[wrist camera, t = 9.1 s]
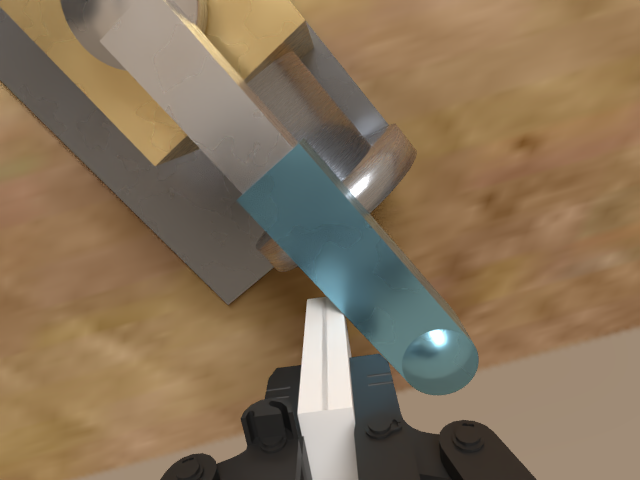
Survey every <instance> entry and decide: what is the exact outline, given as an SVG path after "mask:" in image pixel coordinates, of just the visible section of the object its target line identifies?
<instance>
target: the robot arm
mask: <svg viewBox="0 0 640 480" xmlns="http://www.w3.org/2000/svg"><path fill="white" fill-rule="evenodd" d="M241 422H242V426H243V430H244V434H245V438H246V442H247V449H246V450H245V451H244V452H243V453H241V454H239V455H237V456H235V457H233V458H231V459H228V460H226V461H223V462H221V463H218V464H216V461H215V460H214V459H213V458H212V457H211V456H210V455H206V454H203V453H202V454H192V455H189V456H187V457H184V458H182V459H180V460H179V461H177V462H176V463H174V464H173V465H172V466H171V467H170V468H169V469H168V470H167V471H166V473H165V474H164V475H163V477H162V478H161V479H160V480H536V478H535V477H534V476H533V475H532V474H531V473H530V472H529V471H528V470H527V468H526V467H525V466H524V465H523V464H522V463H521V462H520V461H519V460H518V459H517V457H516V456H515V455H514V454H513V453H512V452H511V451H510V450H509V448H508V447H507V446H506V445H505V444H504V443H503V442H502V441H501V440H500V439H499V437H498V436H497V435H496V434H495V433H494V432H493V431H492V430H491V429H489V428H488V427H487V426H485V425H483V424H481V423H478V422H475V421H468V420H461V421H455V422H452V423H450V424H448V425H446V426H445V427H444V428H443V429H442V430H441V432H440V435H439V434H431V433H426V432H421V431H418V430H416V429H414V428H412V427H411V426H409V425H408V424H407V423H406V422H405V421H404V420H403V418H402V415H401V412H400V408H399V404H398V400H397V396H396V392H395V388H394V384H393V380H392V376H391V372H390V367H389V363H388V361H387V360H386V359H384V358H383V357H382V356H381V355H380V354H374V355H366V356H359V357H351V350H350V343H349V337H348V330H347V324H346V317H345V315H344V314H343V313H342V312H341V311H340V310H339V309H338V308H337V306H336V305H335V304H334V303H333V302H332V301H331V300H330V299H329V298H328V297H320V298H312V299H307V308H306V320H305V331H304V343H303V354H302V365H298V366H290V367H283V368H277V369H276V370H275V371H274V373H273V374H272V375H271V376H270V378H269V380H268V385H267V391H266V395H265V399H264V400H260V401H258V402H256V403H255V404H253V405H251V406H250V407H249V408H248V409H247V410H245V411H244V413H243V415H242V417H241Z"/></svg>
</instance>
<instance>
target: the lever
mask: <svg viewBox="0 0 640 480" xmlns="http://www.w3.org/2000/svg"><path fill="white" fill-rule="evenodd" d="M60 2H61V7H62V10H63V14H64V16H65V19H66V21H67V24H68V25H69V27H70V29H71V31H72V33H73V34H74V36H75V37H76V39H77V40H78V41H79V42H80V44H81V45H82V46H83V47H84V48H85V49H86V50H87V51H88V52H89V53H90V54H91V55H93V56H94V57H95V58H97V59H98V60H100V61H101V62H103V63H105V64H107V65H109V66H111V67H114V68H117V69H121V70H125V71H128V72H129V73H130V74H131V75H132V76H133V78H134V79H135V80H136V81H137V82H138V83H139V84H140V85H141V86H142V87H143V88H144V89H145V90H146V91H147V93H148V94H149V95H150V96H151V97H152V98H153V99H154V100H155V101H156V102H157V103H158V104H159V105H160V106H161V107H162V109H163V110H164V111H165V112H166V113H167V114H168V115H169V116H170V117H171V118H172V119H173V120H174V121H175V122H176V123H177V125H178V126H179V127H180V128H181V129H182V130H183V131H184V132H185V133H186V134H187V135H188V136H189V137H190V138H191V140H192V141H193V142H194V143H195V144H196V145H197V146H198V147H199V148H200V149H201V150H202V151H203V152H204V153H205V154H206V156H207V157H208V158H209V159H210V160H211V161H212V162H213V163H214V164H215V165H216V166H217V167H218V168H219V169H220V170H221V172H222V173H223V174H224V175H225V176H226V177H227V178H228V179H229V180H230V181H231V182H232V183H233V184H234V185H235V187H236V188H237V189H238V190H239V191H240V192H241V193H242V195H241V196H240V197H239V198H238V199H237V200H236V201H237V202H238V203H239V204H240V205H241V206H242V207H243V208H244V209H245V210H246V211H247V212H248V213H249V214H250V215H251V216H252V217H253V219H254V220H255V221H256V222H257V223H258V224H259V225H260V226H261V227H262V228H263V229H264V230H265V231H266V232H267V233H268V234H269V235H270V237H271V238H272V239H273V240H274V241H275V242H276V243H277V244H278V245H279V246H280V247H281V248H282V249H283V250H284V251H285V252H286V253H287V255H288V256H289V257H290V258H291V259H292V260H293V261H294V262H295V263H296V264H297V265H298V266H299V267H300V268H301V269H302V270H303V272H304V273H305V274H306V275H307V276H308V277H309V278H310V279H311V280H312V281H313V282H314V283H315V284H316V285H317V286H318V287H319V288H320V290H321V291H322V292H323V293H324V294H325V295H326V296H327V297H328V298H329V299H330V300H331V301H332V302H333V303H334V304H335V305H336V306H337V308H338V309H339V310H340V311H341V312H342V313H343V314H344V315H345V316H346V317H347V318H348V319H349V320H350V321H351V322H352V323H353V324H354V326H355V327H356V328H357V329H358V330H359V331H360V332H361V333H362V334H363V335H364V336H365V337H366V338H367V339H368V340H369V341H370V342H371V344H372V345H373V346H374V347H375V348H376V349H377V350H378V351H379V352H380V353H381V354H382V355H383V356H384V357H385V358H386V359H387V360H388V362H389V363H390V364H391V365H392V366H393V367H394V368H395V369H396V370H397V371H398V372H399V373H400V374H401V375H402V376H403V377H404V378H405V380H406V381H407V382H408V383H409V384H410V385H411V386H412V387H414V388H415V389H416V390H418V391H420V392H423V393H425V394H430V395H446V394H450V393H453V392H456V391H458V390H460V389H462V388H463V387H464V386H466V385H467V384H468V383H469V382H470V381H471V380H472V378H473V377H474V375H475V373H476V371H477V368H478V362H479V359H478V353H477V350H476V348H475V346H474V344H473V342H472V341H471V339H470V337H469V335H468V334H467V332H466V330H465V328H464V327H463V325H462V323H461V322H460V320H459V318H458V316H457V315H456V313H455V312H454V311H453V310H452V308H451V307H450V306H449V305H448V304H447V303H446V301H445V300H444V299H443V298H442V297H441V296H440V295H439V293H438V292H437V291H436V290H435V289H434V288H433V286H432V285H431V284H430V283H429V282H428V281H427V279H426V278H425V277H424V276H423V275H422V274H421V273H420V271H419V270H418V269H417V268H416V267H415V266H414V264H413V263H412V262H411V261H410V260H409V259H408V257H407V256H406V255H405V254H404V253H403V252H402V251H401V249H400V248H399V247H398V246H397V245H396V244H395V242H394V241H393V240H392V239H391V238H390V237H389V236H388V234H387V233H386V232H385V231H384V230H383V229H382V227H381V226H380V225H379V224H378V223H377V222H376V220H375V219H374V218H373V217H372V216H371V215H370V214H369V212H368V211H367V210H366V209H365V208H364V207H363V205H362V204H361V203H360V202H359V201H358V200H357V198H356V197H355V196H354V195H353V194H352V193H351V192H350V190H349V189H348V188H347V187H346V186H345V185H344V183H343V182H342V181H341V180H340V179H339V178H338V177H337V175H336V174H335V173H334V172H333V171H332V170H331V168H330V167H329V166H328V165H327V164H326V163H325V161H324V160H323V159H322V158H321V157H320V156H319V155H318V153H317V152H316V151H315V150H314V149H313V148H312V146H311V145H310V144H309V143H308V142H307V141H306V139H305V138H304V137H303V138H302V139H301V140H300V141H299V142H297V141H296V139H295V138H294V137H293V136H292V135H291V134H290V133H289V131H288V130H287V129H286V128H285V127H284V126H283V125H282V123H281V122H280V121H279V120H278V119H277V118H276V116H275V115H274V114H273V113H272V112H271V111H270V110H269V108H268V107H267V106H266V105H265V104H264V103H263V102H262V100H261V99H260V98H259V97H258V96H257V95H256V93H255V92H254V91H253V90H252V89H251V88H250V87H249V85H248V84H247V83H246V82H245V81H244V80H243V79H242V77H241V76H240V75H239V74H238V73H237V72H236V71H235V69H234V68H233V67H232V66H231V65H230V64H229V62H228V61H227V60H226V59H225V58H224V57H223V56H222V54H221V53H220V52H219V51H218V50H217V49H216V48H215V46H214V45H213V44H212V43H211V42H210V41H209V40H208V38H207V37H206V36H205V35H204V33H205V30H206V25H207V14H208V10H207V0H60Z"/></svg>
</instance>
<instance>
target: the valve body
mask: <svg viewBox="0 0 640 480" xmlns="http://www.w3.org/2000/svg"><path fill="white" fill-rule="evenodd" d="M207 10H208V14H207V25H206V30H205V33H204V35H205V36H206V37H207V38H208V40H209V41H210V42H211V43H212V44H213V45H214V46H215V48H216V49H217V50H218V51H219V52H220V53H221V54H222V56H223V57H224V58H225V59H226V60H227V61H228V62H229V64H230V65H231V66H232V67H233V68H234V69H235V71H236V72H237V73H238V74H239V75H240V76H241V77H242V79H243V80H244V81H245V82H246V83H247V84H248V85H249V87H250V88H251V89H252V90H253V91H254V92H255V93H256V95H257V96H258V97H259V98H260V99H261V100H262V102H263V103H264V104H265V105H266V106H267V107H268V108H269V110H270V111H271V112H272V113H273V114H274V115H275V116H276V118H277V119H278V120H279V121H280V122H281V123H282V125H283V126H284V127H285V128H286V129H287V130H288V131H289V133H290V134H291V135H292V136H293V137H294V138H295V139H296V141H297V142H299V141H300V140H301V139H302V138H303V137H304V138H305V139H306V141H307V142H308V143H309V144H310V145H311V146H312V148H313V149H314V150H315V151H316V152H317V153H318V155H319V156H320V157H321V158H322V159H323V160H324V161H325V163H326V164H327V165H328V166H329V167H330V168H331V170H332V171H333V172H334V173H335V174H336V175H337V177H338V178H339V179H340V180H341V181H342V182H343V183H344V185H345V186H346V187H347V188H348V189H349V190H350V192H351V193H352V194H353V195H354V196H355V197H356V198H357V200H358V201H359V202H360V203H361V204H362V205H363V207H364V208H365V209H366V210H367V211H368V212H369V214H370V213H371V212H372V211H373V210H374V209H375V208H376V207H377V206H378V205H379V204H380V203H381V202H382V201H383V200H384V199H385V198H386V197H387V196H388V195H389V194H390V193H391V191H392V190H393V189H394V188H395V187H396V186H397V185H398V183H399V182H400V181H401V180H402V179H403V177H404V176H405V175H406V173H407V172H408V171H409V169H410V167H411V166H412V164H413V162H414V160H415V158H416V154H417V151H416V149H415V148H414V147H413V145H412V144H411V143H410V142H409V140H408V139H407V138H406V137H405V135H404V134H403V133H402V132H401V130H400V129H399V128H398V127H397V125H396V124H391V125H388V124H387V122H386V121H385V120H384V119H383V117H382V116H381V115H380V114H379V112H378V111H377V110H376V109H375V107H374V106H373V105H372V103H371V102H370V101H369V100H368V98H367V97H366V96H365V95H364V93H363V92H362V91H361V90H360V88H359V87H358V86H357V85H356V83H355V82H354V81H353V80H352V78H351V77H350V76H349V75H348V73H347V72H346V71H345V70H344V68H343V67H342V66H341V65H340V63H339V62H338V61H337V60H336V58H335V57H334V56H333V55H332V53H331V52H330V51H329V50H328V48H327V47H326V46H325V45H324V43H323V42H322V41H321V40H320V38H319V37H318V36H317V35H316V33H315V32H314V31H313V30H312V28H311V27H310V26H309V25H308V23H307V22H306V21H305V19H304V18H303V17H302V16H301V14H300V13H299V12H298V11H297V9H296V8H295V7H294V6H293V4H292V3H291V2H290V1H289V0H207ZM0 81H2V82H3V83H4V84H5V85H6V86H7V87H8V88H9V89H10V90H11V91H12V92H13V93H14V94H15V95H16V96H17V97H18V98H19V99H20V100H21V101H22V102H23V103H24V104H25V105H26V106H27V107H28V108H29V109H30V110H31V111H32V112H33V113H34V114H35V115H36V116H37V117H38V118H39V119H40V120H41V121H42V122H43V123H44V124H45V125H46V126H47V127H48V128H49V129H50V130H51V131H52V132H53V133H54V134H55V135H56V136H57V137H58V138H59V139H60V140H61V141H62V142H63V143H64V144H65V145H66V146H67V147H68V148H69V149H70V150H71V151H72V152H73V153H74V154H75V155H76V156H78V157H79V158H80V159H81V160H82V161H83V162H84V163H85V164H86V165H87V166H88V167H89V168H90V169H91V170H92V171H93V172H94V173H95V174H96V175H97V176H98V177H99V178H100V179H101V180H102V181H103V182H104V183H105V184H106V185H107V186H108V187H109V188H110V189H111V190H112V191H113V192H114V193H115V194H116V195H117V196H118V197H119V198H120V199H121V200H122V201H123V202H124V203H125V204H126V205H127V206H128V207H129V208H130V209H131V210H132V211H133V212H134V213H135V214H136V215H137V216H138V217H139V218H140V219H141V220H142V221H143V222H144V223H145V224H146V225H147V226H148V227H149V228H150V229H151V230H152V231H153V232H155V233H156V234H157V235H158V236H159V237H160V238H161V239H162V240H163V241H164V242H165V243H166V244H167V245H168V246H169V247H170V248H171V249H172V250H173V251H174V252H175V253H176V254H177V255H178V256H179V257H180V258H181V259H182V260H183V261H184V262H185V263H186V264H187V265H188V266H189V267H190V268H191V269H192V270H193V271H194V272H195V273H196V274H197V275H198V276H199V277H200V278H201V279H202V280H203V281H204V282H205V283H206V284H207V285H208V286H209V287H210V288H211V289H212V290H213V291H214V292H215V293H216V294H217V295H218V296H219V297H220V298H221V299H222V300H223V301H224V302H225V303H226V304H227V305H229V304H230V303H231V302H232V301H234V300H235V299H236V298H237V297H239V296H240V295H241V294H242V293H243V292H245V291H246V290H247V289H248V288H249V287H251V286H252V285H253V284H254V283H255V282H257V281H258V280H259V279H260V278H261V277H263V276H264V275H265V274H266V273H267V272H269V271H270V270H271V269H272V268H275V269H276V270H277V271H279V272H285V271H289V270H292V269H294V268H296V267H298V265H297V264H296V263H295V262H294V261H293V260H292V259H291V258H290V257H289V256H288V255H287V253H286V252H285V251H284V250H283V249H282V248H281V247H280V246H279V245H278V244H277V243H276V242H275V241H274V240H273V239H272V238H271V237H270V235H269V234H268V233H267V232H266V231H265V230H264V229H263V228H262V227H261V226H260V225H259V224H258V223H257V222H256V221H255V220H254V219H253V217H252V216H251V215H250V214H249V213H248V212H247V211H246V210H245V209H244V208H243V207H242V206H241V205H240V204H239V203H238V202H237V201H236V200H237V199H238V198H239V197H240V196H241V195H242V193H241V192H240V191H239V190H238V189H237V188H236V187H235V185H234V184H233V183H232V182H231V181H230V180H229V179H228V178H227V177H226V176H225V175H224V174H223V173H222V172H221V170H220V169H219V168H218V167H217V166H216V165H215V164H214V163H213V162H212V161H211V160H210V159H209V158H208V157H207V156H206V154H205V153H204V152H203V151H202V150H201V149H200V148H199V147H198V146H197V145H196V144H195V143H194V142H193V141H192V140H191V138H190V137H189V136H188V135H187V134H186V133H185V132H184V131H183V130H182V129H181V128H180V127H179V126H178V125H177V123H176V122H175V121H174V120H173V119H172V118H171V117H170V116H169V115H168V114H167V113H166V112H165V111H164V110H163V109H162V107H161V106H160V105H159V104H158V103H157V102H156V101H155V100H154V99H153V98H152V97H151V96H150V95H149V94H148V93H147V91H146V90H145V89H144V88H143V87H142V86H141V85H140V84H139V83H138V82H137V81H136V80H135V79H134V78H133V76H132V75H131V74H130V73H129V72H128V71H125V70H121V69H117V68H114V67H111V66H109V65H107V64H105V63H103V62H101V61H100V60H98V59H97V58H95V57H94V56H93V55H91V54H90V53H89V52H88V51H87V50H86V49H85V48H84V47H83V46H82V45H81V44H80V42H79V41H78V40H77V39H76V37H75V36H74V34H73V33H72V31H71V29H70V27H69V25H68V24H67V21H66V19H65V16H64V14H63V10H62V7H61V2H60V0H0Z"/></svg>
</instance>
